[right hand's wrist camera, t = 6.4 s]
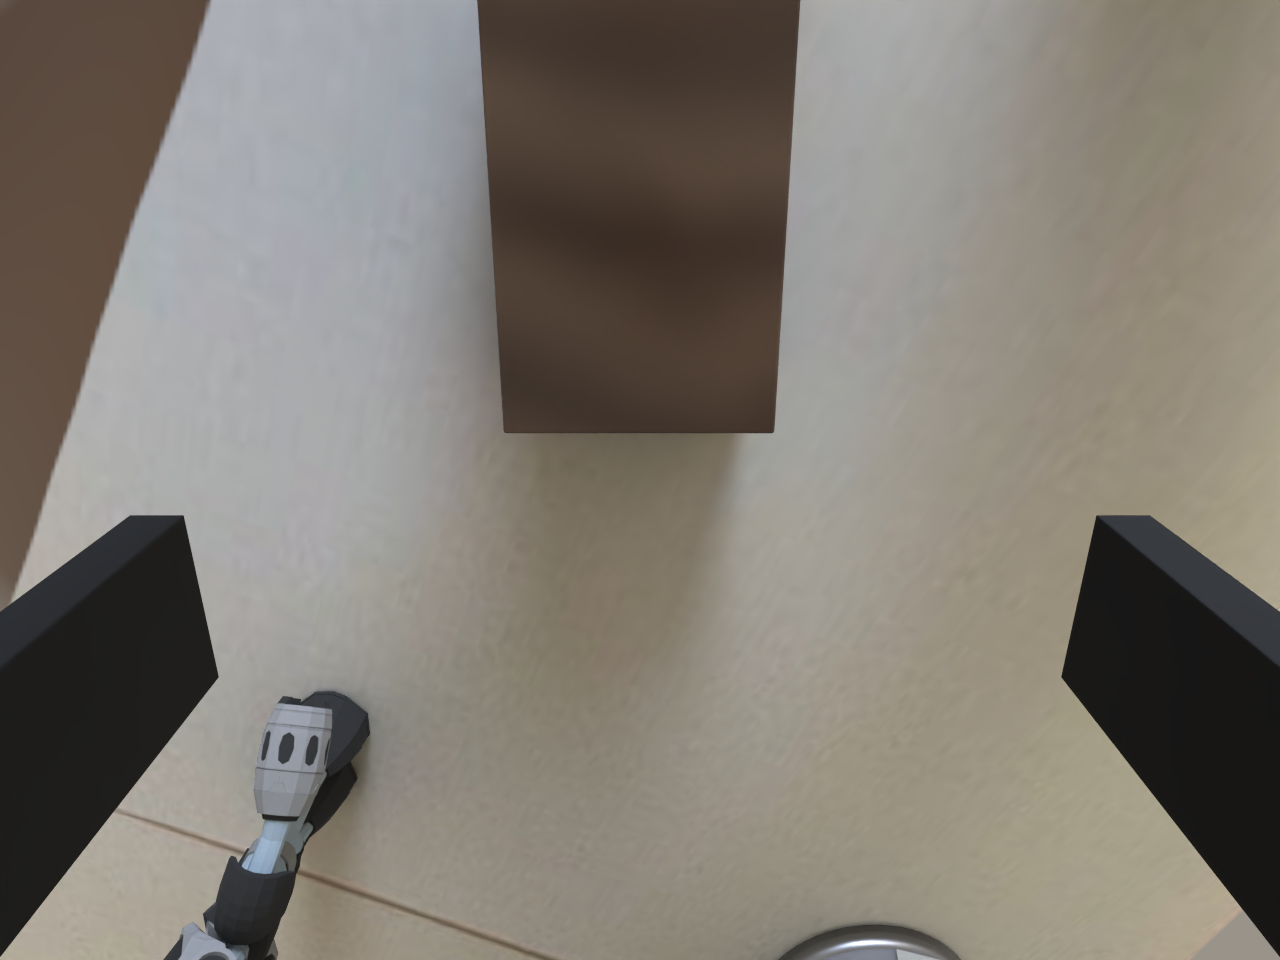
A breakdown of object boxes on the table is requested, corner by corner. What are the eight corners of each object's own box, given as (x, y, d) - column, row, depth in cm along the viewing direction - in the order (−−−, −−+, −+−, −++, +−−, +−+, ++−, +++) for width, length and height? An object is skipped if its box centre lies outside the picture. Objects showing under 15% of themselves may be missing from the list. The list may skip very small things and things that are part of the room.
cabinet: (509, 10, 38) (475, -24, 30) (768, 10, 38) (802, -24, 30) (527, 382, 44) (503, 433, 36) (750, 382, 44) (774, 433, 36)
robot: (336, 872, 56) (183, 1239, 37) (261, 854, 55) (68, 1217, 36) (404, 625, 49) (259, 923, 30) (319, 601, 48) (118, 889, 30)
